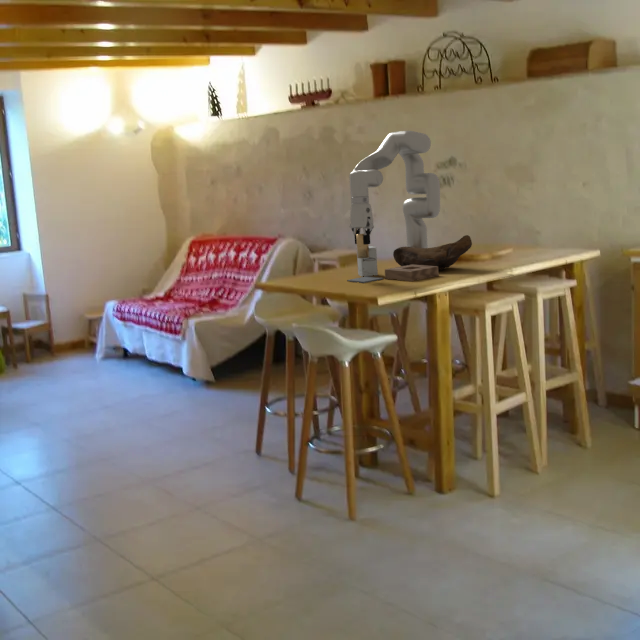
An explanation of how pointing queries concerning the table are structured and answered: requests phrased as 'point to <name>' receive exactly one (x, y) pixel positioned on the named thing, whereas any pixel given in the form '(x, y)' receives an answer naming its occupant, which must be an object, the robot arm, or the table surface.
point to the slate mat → (365, 279)
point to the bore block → (411, 272)
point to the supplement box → (368, 263)
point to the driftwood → (433, 254)
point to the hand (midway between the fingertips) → (362, 243)
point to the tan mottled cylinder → (362, 247)
